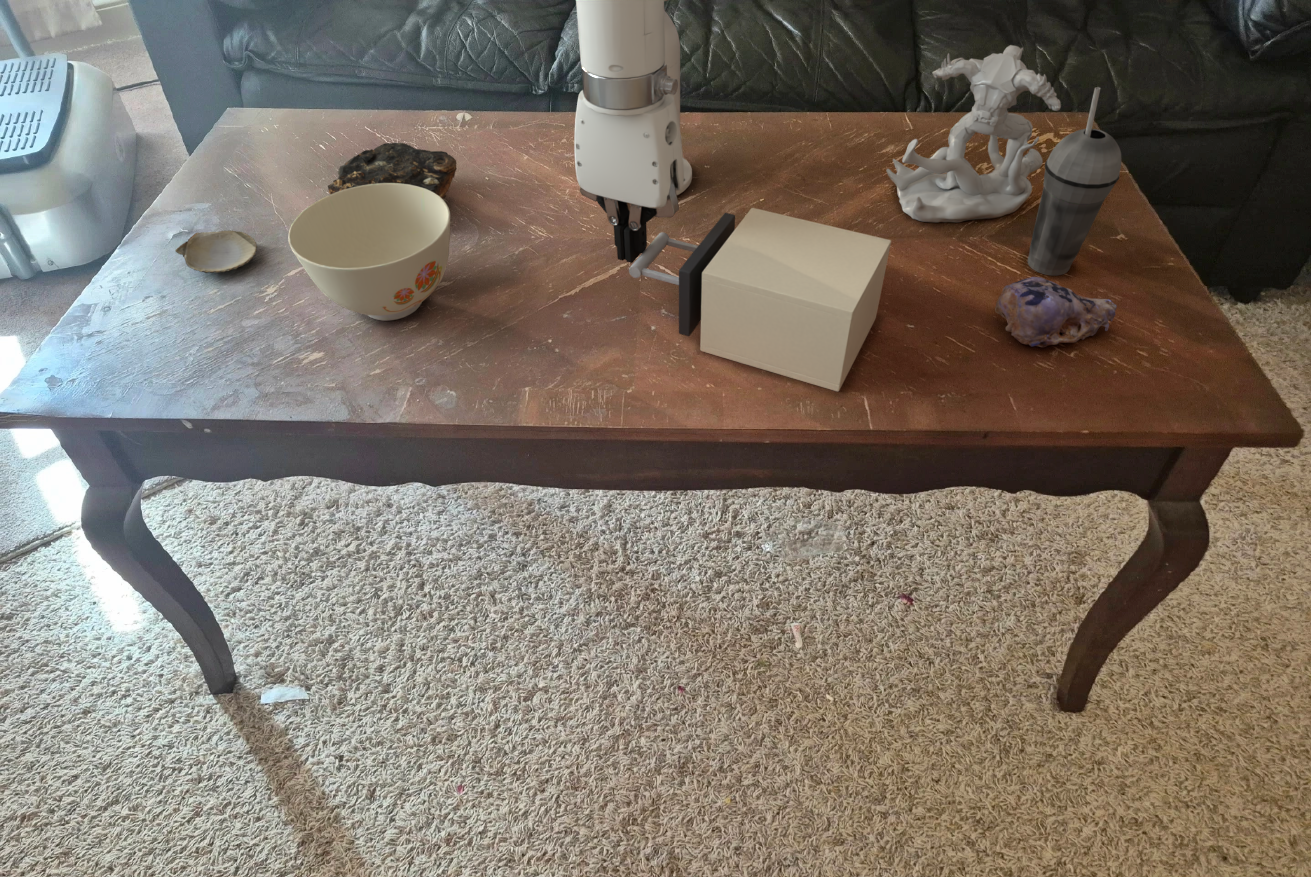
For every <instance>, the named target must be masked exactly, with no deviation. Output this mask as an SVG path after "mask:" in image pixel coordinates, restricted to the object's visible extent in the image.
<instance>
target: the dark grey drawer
mask: <svg viewBox="0 0 1311 877" xmlns="http://www.w3.org/2000/svg"><path fill="white" fill-rule="evenodd" d="M735 227H736V214H733V213H728V212H724V213H723V214H722V215H721V217H720V218H719V220H718V221H717V222H716V223H715V225H714V226H713V227H712V228H711V229H710V230H709V232H708V233H707V235H705V237H704V238H703V240H702V241H701V242H700V243H699V244H698V245H697V244H693V243H690V242H685V241H682V240H677V239H674V238H671V237H670V236H669V234H668V233H666V232H665V231H664V232H663V231H662V232H659V233H658V234H657V236H655V238H654V239H653V240H652V241H651V242H650V243H649V245H647V246H646V249H645V251H644V252H643V253H641V254H640V255H639V256H638V257H637V258H636V259H635V260H634V262H633V263H631V265H630V266H629V268H628V273H629V275H630V276H631V277H632V278H634V279H639V278H640V277H641V276H643V277H646V278H650V279H654V280H657V281H660V282H665V283H668V284H673V285H676V286H678V335H683V336H686V337H690V336H691V335H692V333H693V332H694V330H695V329H696V328H697V326H698V325H699V324H700V323H701V300H702V272H703V271H704V269H705V268H706V267H707V265H708V264H709V263H710V262H711V260H712V259H713V258H714V256H715V255H716V254H717V252H718V251H719V250H720V249H721V247H722V246H723V245H724V243H725V242H726V241H727V239H728V238H729V237H730V236H731V234H732V233H733V232H734V230H735V229H736V228H735ZM666 246H668V247H672V248H676V249H680V250H684V251H688V252H690V253H691V254H690V256H689V257H688V258H687V259H686V261H685V262H684V263H683V264H682V265H681V267H680V268H679V269H678V276H675V275H672V274H668V273H664V272H661V271H657V270H654V269H650V268H649V267H650V265H652V263H654V261H655V260H656V258H658V256H659V255H660V254H661V253H662V251H663V250H664V249H665V248H666Z"/></svg>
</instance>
